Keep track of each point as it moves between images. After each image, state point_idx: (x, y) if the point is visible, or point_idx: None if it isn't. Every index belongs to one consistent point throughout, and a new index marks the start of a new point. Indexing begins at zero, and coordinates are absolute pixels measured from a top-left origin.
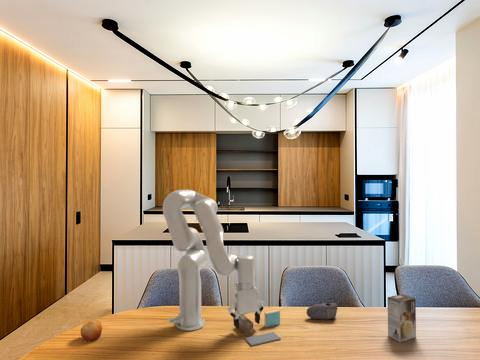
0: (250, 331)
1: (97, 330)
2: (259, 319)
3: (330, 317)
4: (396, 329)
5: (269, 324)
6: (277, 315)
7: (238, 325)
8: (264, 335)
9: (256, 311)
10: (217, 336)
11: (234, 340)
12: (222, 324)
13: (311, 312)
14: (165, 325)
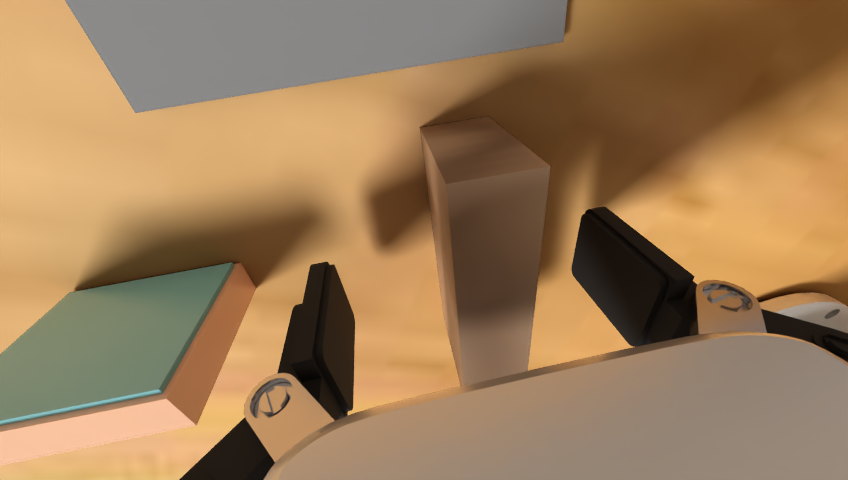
0: (467, 135)
1: None
2: (300, 313)
3: None
4: None
5: (189, 281)
6: (6, 378)
7: (612, 225)
8: (283, 33)
9: (351, 415)
10: (732, 183)
11: (666, 55)
12: (579, 339)
13: None
14: None
